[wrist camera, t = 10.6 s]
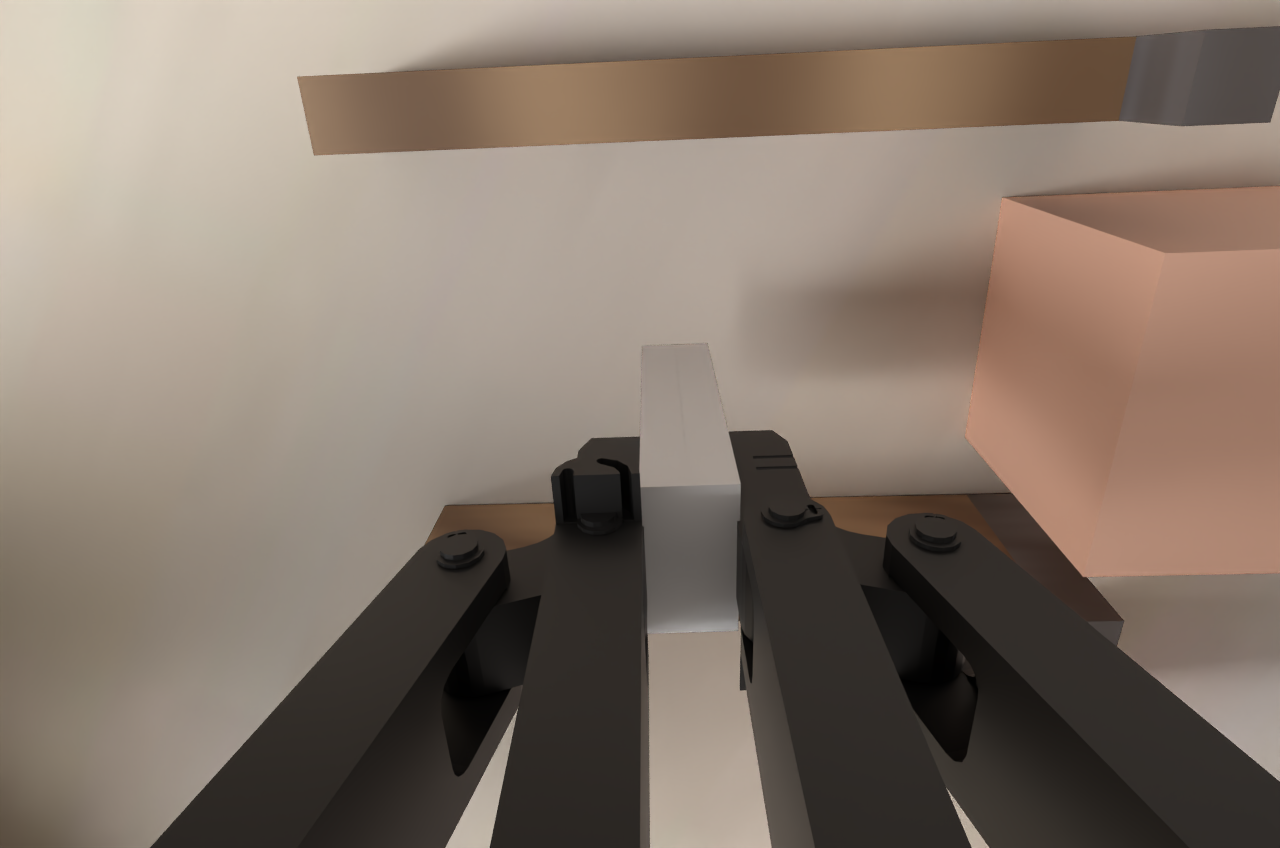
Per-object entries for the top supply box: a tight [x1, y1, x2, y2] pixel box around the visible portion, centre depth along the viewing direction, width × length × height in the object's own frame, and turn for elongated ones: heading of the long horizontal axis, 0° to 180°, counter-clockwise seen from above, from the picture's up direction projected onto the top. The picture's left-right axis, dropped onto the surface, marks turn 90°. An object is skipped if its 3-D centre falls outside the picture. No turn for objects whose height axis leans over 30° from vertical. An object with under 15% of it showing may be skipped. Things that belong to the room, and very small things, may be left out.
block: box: [965, 186, 1280, 577], centre depth 18 cm, size 7×7×7 cm
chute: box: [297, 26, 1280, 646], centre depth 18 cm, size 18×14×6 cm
